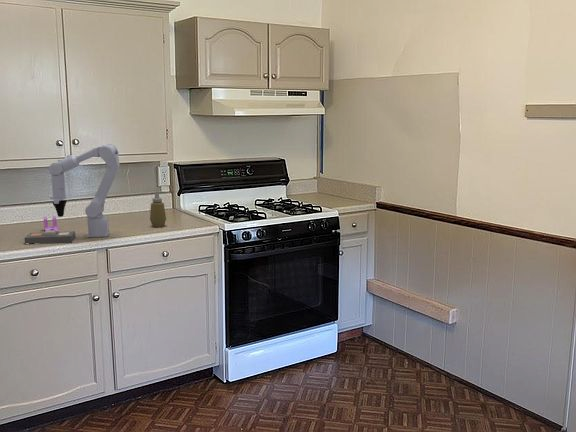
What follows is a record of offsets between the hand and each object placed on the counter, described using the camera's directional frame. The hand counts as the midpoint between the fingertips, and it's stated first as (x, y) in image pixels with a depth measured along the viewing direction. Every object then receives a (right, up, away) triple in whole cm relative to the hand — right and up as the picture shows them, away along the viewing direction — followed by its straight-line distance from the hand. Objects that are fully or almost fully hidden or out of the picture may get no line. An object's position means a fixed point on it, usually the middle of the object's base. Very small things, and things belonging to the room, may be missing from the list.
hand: (60, 216), depth 280 cm
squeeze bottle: (+41, -5, +23) cm, 47 cm away
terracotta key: (-7, -11, -9) cm, 16 cm away
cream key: (+5, -11, -7) cm, 14 cm away
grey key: (-1, -10, -9) cm, 13 cm away
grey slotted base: (-1, -11, -8) cm, 14 cm away
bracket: (-9, -8, +11) cm, 16 cm away
